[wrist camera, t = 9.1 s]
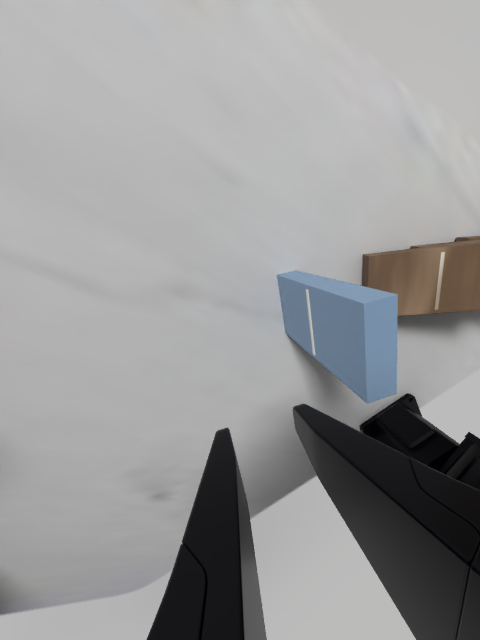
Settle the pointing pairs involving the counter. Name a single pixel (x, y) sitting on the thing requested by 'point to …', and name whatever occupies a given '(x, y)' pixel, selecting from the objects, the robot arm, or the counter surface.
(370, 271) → the domino
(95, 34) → the counter surface
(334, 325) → the blue domino
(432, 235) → the counter surface
